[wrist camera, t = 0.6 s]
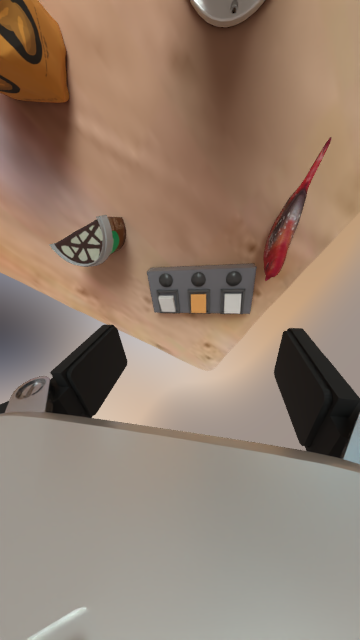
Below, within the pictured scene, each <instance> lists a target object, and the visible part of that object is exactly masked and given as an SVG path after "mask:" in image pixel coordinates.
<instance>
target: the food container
mask: <svg viewBox="0 0 360 640" xmlns="http://www.w3.org/2000/svg"><path fill="white" fill-rule="evenodd" d="M96 218H97V220H95V221H94V222H92V223H90V224H88V225H87V226H85V227H83V228H81V229H79V230H78V231H76V232H74V233H72V234H71V235H69V236H68V237H66V238H64V239H63V240H61V241H59V242H57V243H54V244H50V246H51V248H52V249H53V250H54V251H55V252H56V253H57V254H58V255H59V256H60V257H61V258H63V259H64V260H65V261H67V262H69V263H71V264H74V265H78V266H84V267H88V266H97V265H100V264H101V263H103V262H104V261H105V260H106V259H107V258H108V256H109V255H110V254H111V253H113V252H115V251H117V250H118V249H120V248H121V247H122V245H123V244H124V242H125V238H126V229H125V224H124V221H123V219H122V217H107V215H103V216H99V217H96Z"/></svg>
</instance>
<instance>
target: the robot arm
mask: <svg viewBox="0 0 360 640" xmlns="http://www.w3.org/2000/svg"><path fill="white" fill-rule="evenodd" d="M190 1H191V4H192V6H193V7H194V8H195V10H196V11H197V13H198V14H199V16H201V17H202V18H203V19H204V20H205V21H206V22H207V23H209V24H212V25H214V26H216V27H230V26H234V25H237V24H239V23H241V22H242V21H244V20H246V19H247V18H248V17H250V16H251V15H252V14H253V13H254V12H255V11H257V10H258V8H259V7H260V6H261V5H262V4H263V2H264V1H265V0H190ZM233 11H235V12H236V13H234V14H232V12H233ZM126 366H127V359H126V355H125V352H124V349H123V346H122V343H121V340H120V336H119V333H118V330H117V328H116V327H115V326H114V325H103V326H101V327H100V328H99V329H98V330H97V331H96V332H95V333H94V334H92V335H91V336H90V337H89V338H88V339H87V340H86V341H85V342H83V343H82V344H81V345H80V346H79V347H78V348H77V349H76V350H75V351H73V352H72V353H71V354H70V355H69V356H68V357H67V358H66V359H65V360H63V361H62V362H61V363H60V364H59V365H58V366H57V367H56V368H55V369H53V370H52V371H51V374H52V376H53V378H52V379H51V380H50V379H49V378H48V377H47V376H39V377H36V378H33V379H31V380H29V381H27V382H25V383H23V384H22V385H21V386H19V387H18V388H17V389H16V390H15V391H14V392H13V394H12V395H11V398H10V400H9V401H8V402H5V403H3V404H0V640H360V398H359V397H358V396H357V394H356V393H355V392H354V391H353V389H352V388H351V387H350V386H349V384H348V383H347V382H346V381H345V380H344V379H343V377H342V376H341V375H340V373H339V372H338V371H337V370H336V368H335V367H334V366H333V365H332V364H331V362H330V361H329V360H328V359H327V358H326V357H325V356H324V354H323V353H322V352H321V351H320V350H319V348H318V347H317V346H316V345H315V343H314V342H313V341H312V340H311V338H310V337H309V336H308V335H307V333H306V332H305V331H304V330H303V329H299V328H289V329H288V330H287V331H284V332H283V335H282V340H281V344H280V348H279V353H278V357H277V361H276V365H275V370H274V375H275V378H276V381H277V384H278V387H279V389H280V392H281V394H282V397H283V400H284V403H285V405H286V408H287V411H288V413H289V416H290V419H291V421H292V424H293V427H294V429H295V432H296V435H297V438H298V440H299V443H300V444H301V445H302V446H305V448H306V450H307V451H302V450H297V449H290V448H285V447H279V446H273V445H267V444H262V443H255V442H248V441H242V440H235V439H229V438H223V437H216V436H210V435H203V434H196V433H190V432H183V431H176V430H170V429H163V428H156V427H149V426H142V425H136V424H129V423H122V422H115V421H107V420H101V419H94V418H92V416H93V415H95V414H96V413H97V411H98V410H99V408H100V407H101V405H102V404H103V402H104V400H105V399H106V397H107V396H108V394H109V393H110V391H111V389H112V388H113V386H114V384H115V383H116V382H117V380H118V378H119V377H120V375H121V374H122V372H123V371H124V369H125V367H126Z"/></svg>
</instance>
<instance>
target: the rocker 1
mask: <svg viewBox="0 0 360 640" xmlns="http://www.w3.org/2000/svg"><path fill="white" fill-rule="evenodd" d="M158 299H159V303H160V306H161V310H162V312H176V306H175V301H174V296H159V298H158Z"/></svg>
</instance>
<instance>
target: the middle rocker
mask: <svg viewBox="0 0 360 640" xmlns="http://www.w3.org/2000/svg"><path fill="white" fill-rule="evenodd" d="M191 313H206V294H191Z"/></svg>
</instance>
